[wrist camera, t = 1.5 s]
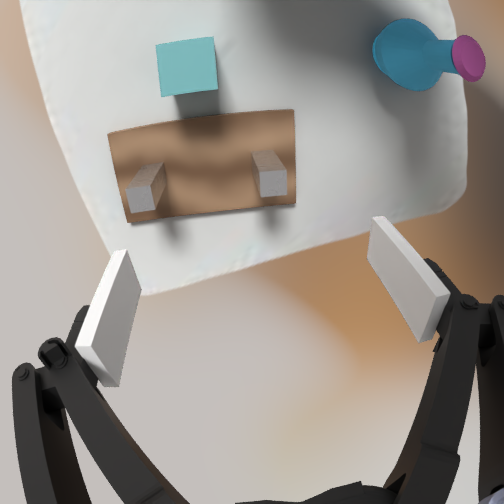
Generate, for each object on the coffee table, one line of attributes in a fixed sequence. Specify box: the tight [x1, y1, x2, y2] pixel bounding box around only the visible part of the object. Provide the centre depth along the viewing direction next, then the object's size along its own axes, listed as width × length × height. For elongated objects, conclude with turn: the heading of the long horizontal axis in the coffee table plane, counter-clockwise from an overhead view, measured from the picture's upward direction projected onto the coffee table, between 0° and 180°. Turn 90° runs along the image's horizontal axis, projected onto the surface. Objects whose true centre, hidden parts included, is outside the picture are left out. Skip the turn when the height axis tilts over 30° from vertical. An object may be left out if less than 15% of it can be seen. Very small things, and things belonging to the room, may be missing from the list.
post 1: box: [125, 162, 167, 213], centre depth 32 cm, size 3×3×8 cm
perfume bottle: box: [372, 19, 486, 91], centre depth 24 cm, size 9×9×15 cm
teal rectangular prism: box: [156, 37, 218, 97], centre depth 27 cm, size 5×5×8 cm
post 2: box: [251, 150, 287, 197], centre depth 33 cm, size 3×3×8 cm
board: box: [107, 109, 296, 223], centre depth 36 cm, size 12×22×1 cm, turn 94°
